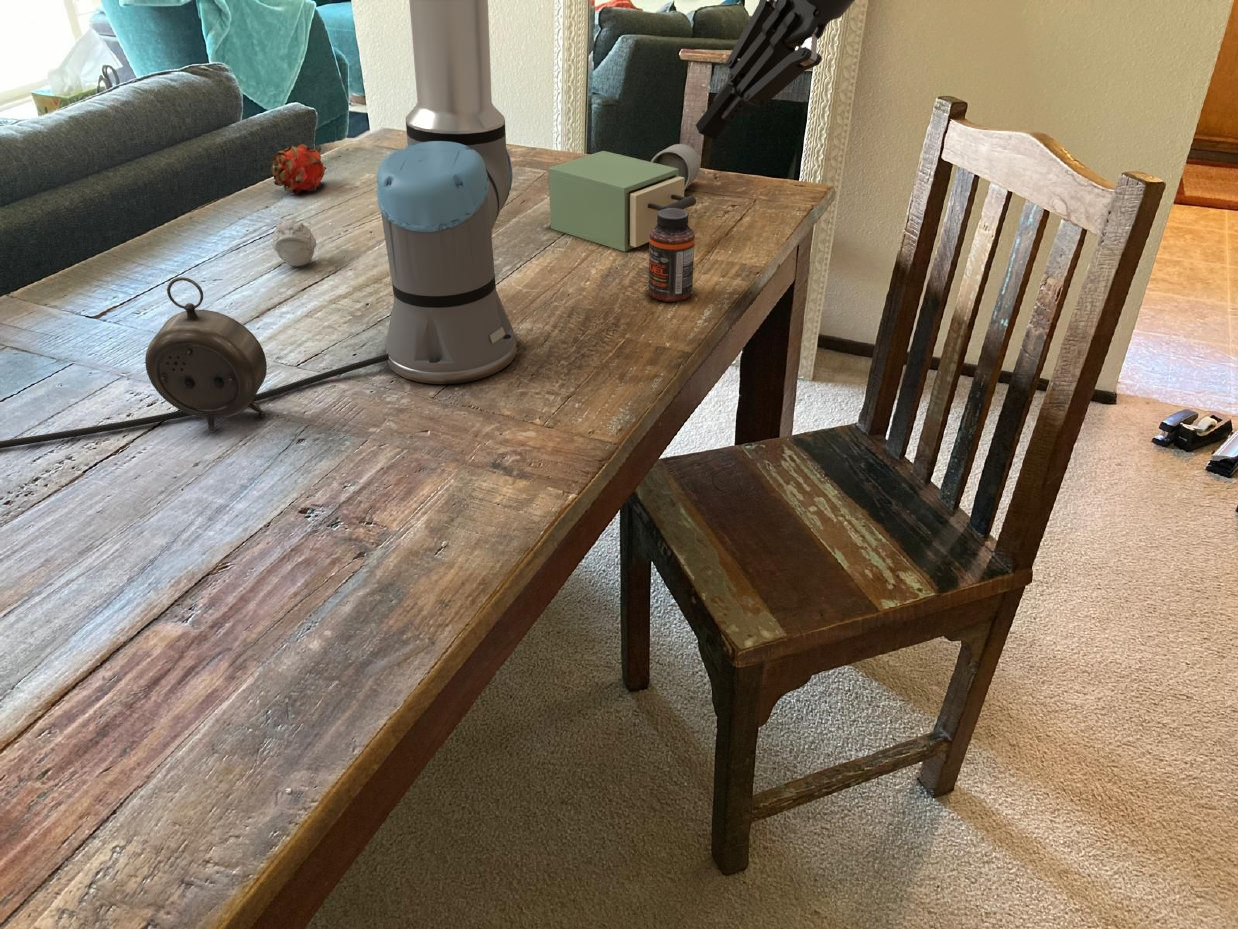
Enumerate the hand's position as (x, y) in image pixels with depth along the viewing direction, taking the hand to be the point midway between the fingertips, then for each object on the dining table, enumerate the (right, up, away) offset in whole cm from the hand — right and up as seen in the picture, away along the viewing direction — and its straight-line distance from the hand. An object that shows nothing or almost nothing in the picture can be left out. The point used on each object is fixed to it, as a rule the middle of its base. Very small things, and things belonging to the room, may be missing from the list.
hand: (705, 132), depth 115 cm
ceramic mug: (-2, +7, +48) cm, 49 cm away
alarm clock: (-53, -37, -17) cm, 67 cm away
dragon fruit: (-67, +7, +49) cm, 83 cm away
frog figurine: (-57, -13, +19) cm, 62 cm away
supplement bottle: (-4, -19, +10) cm, 21 cm away
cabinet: (-12, -4, +31) cm, 34 cm away
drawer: (-8, -5, +29) cm, 30 cm away
